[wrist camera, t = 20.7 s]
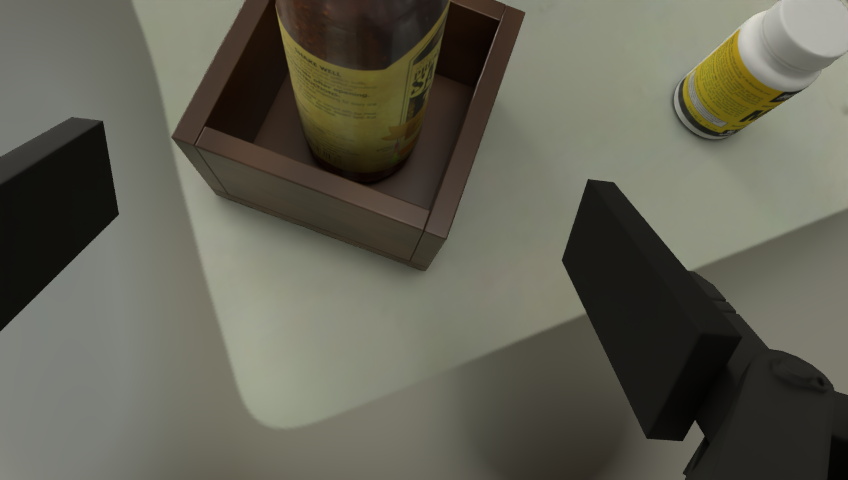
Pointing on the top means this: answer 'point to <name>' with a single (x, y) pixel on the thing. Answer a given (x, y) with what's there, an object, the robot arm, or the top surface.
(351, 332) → the top surface
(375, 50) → the sauce bottle
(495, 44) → the open wooden crate
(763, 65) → the supplement bottle
